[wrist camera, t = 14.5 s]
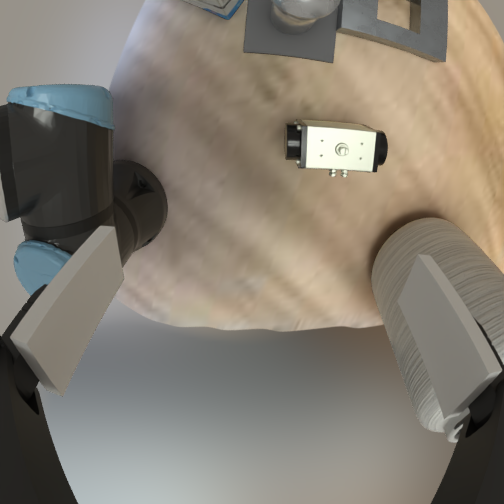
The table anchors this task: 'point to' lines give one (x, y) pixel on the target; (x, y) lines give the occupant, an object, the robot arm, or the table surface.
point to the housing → (413, 41)
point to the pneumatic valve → (335, 146)
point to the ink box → (218, 6)
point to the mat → (277, 43)
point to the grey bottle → (299, 14)
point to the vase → (466, 285)
